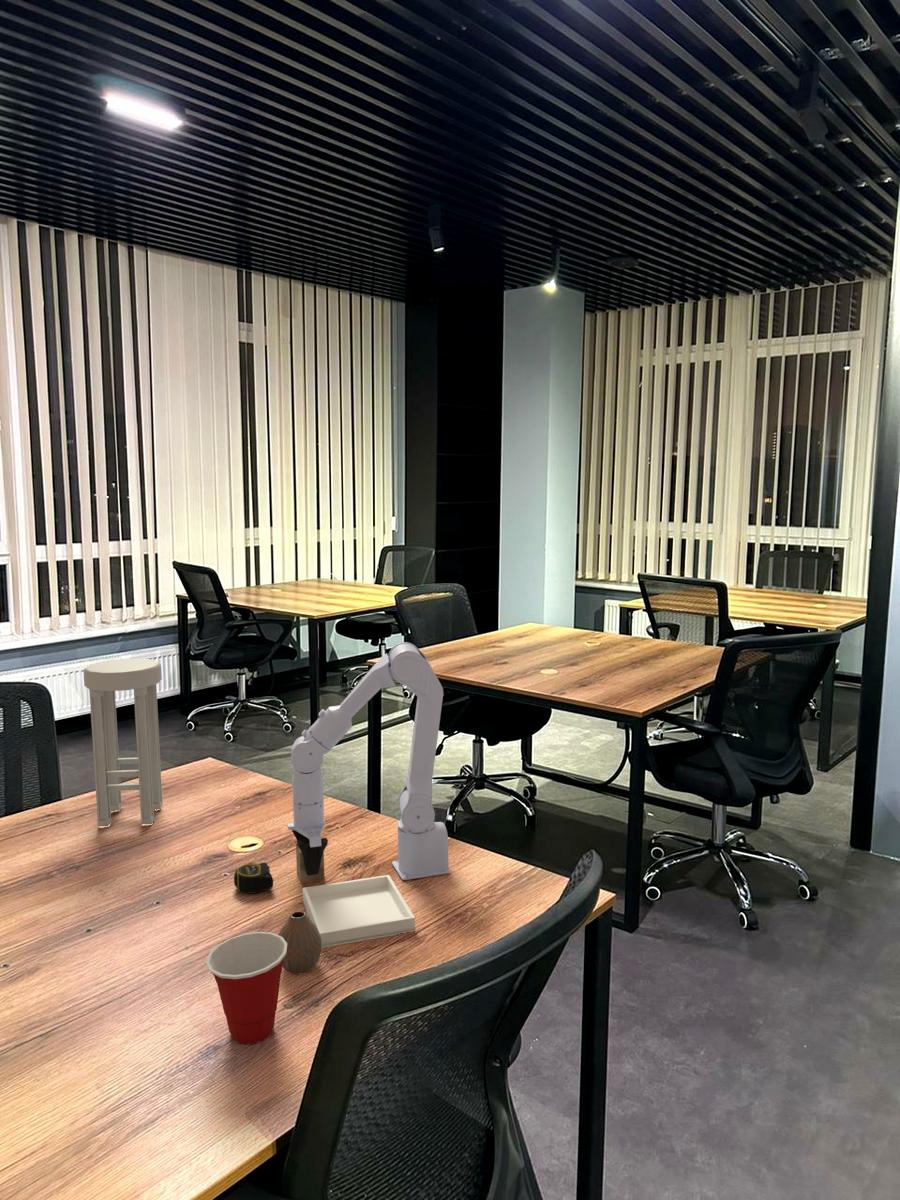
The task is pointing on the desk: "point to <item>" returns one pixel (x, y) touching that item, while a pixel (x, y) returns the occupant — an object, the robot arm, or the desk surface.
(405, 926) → the tray
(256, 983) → the plastic cup
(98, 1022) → the desk surface
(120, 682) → the stool
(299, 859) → the walnut block
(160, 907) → the desk surface
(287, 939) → the vase
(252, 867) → the tape measure
